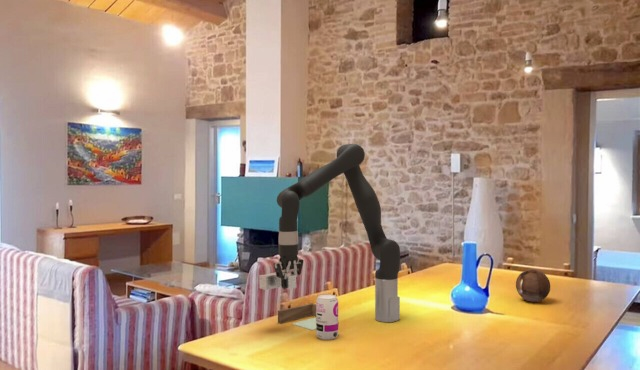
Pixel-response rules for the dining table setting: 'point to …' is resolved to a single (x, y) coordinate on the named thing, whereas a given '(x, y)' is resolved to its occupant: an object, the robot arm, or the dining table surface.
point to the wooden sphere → (533, 285)
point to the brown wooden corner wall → (296, 313)
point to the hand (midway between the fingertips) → (289, 287)
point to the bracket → (276, 281)
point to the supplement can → (327, 317)
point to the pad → (307, 324)
